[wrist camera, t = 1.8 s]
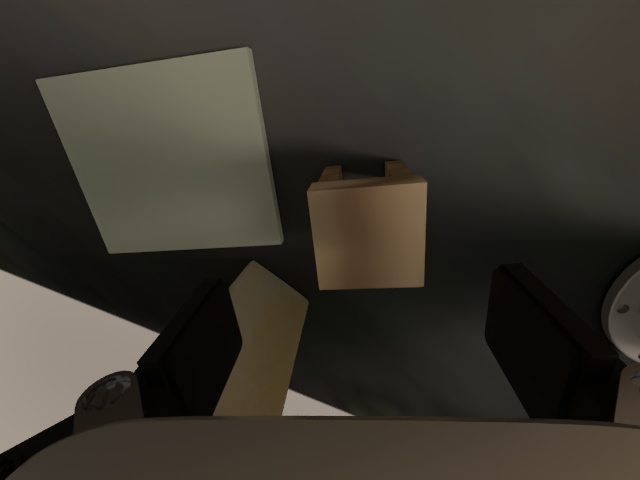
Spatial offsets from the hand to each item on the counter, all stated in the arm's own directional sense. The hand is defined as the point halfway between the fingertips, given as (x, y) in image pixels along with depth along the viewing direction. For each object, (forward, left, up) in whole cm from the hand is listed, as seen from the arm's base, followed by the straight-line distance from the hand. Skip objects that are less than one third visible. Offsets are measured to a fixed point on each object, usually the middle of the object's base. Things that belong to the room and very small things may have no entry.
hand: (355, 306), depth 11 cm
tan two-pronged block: (-1, 0, -14) cm, 14 cm away
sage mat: (+14, -4, -14) cm, 21 cm away
